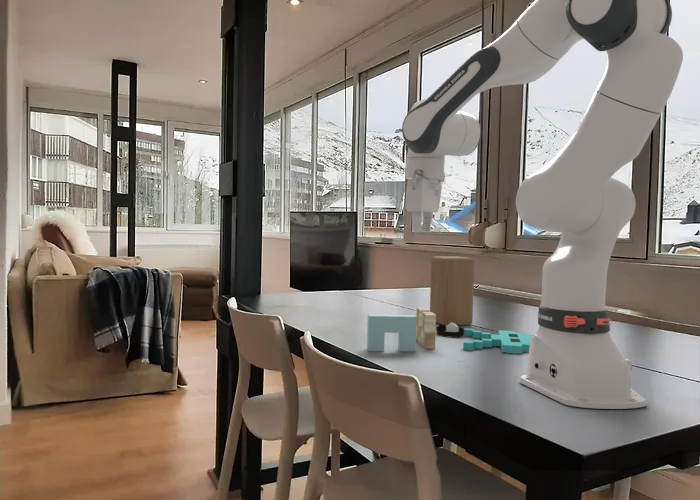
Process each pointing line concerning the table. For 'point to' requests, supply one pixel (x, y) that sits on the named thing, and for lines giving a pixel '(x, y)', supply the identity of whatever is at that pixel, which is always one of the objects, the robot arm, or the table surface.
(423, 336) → the birch board
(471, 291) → the wooden block
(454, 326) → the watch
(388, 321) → the teal plate
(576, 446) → the table surface
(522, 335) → the alien figure
